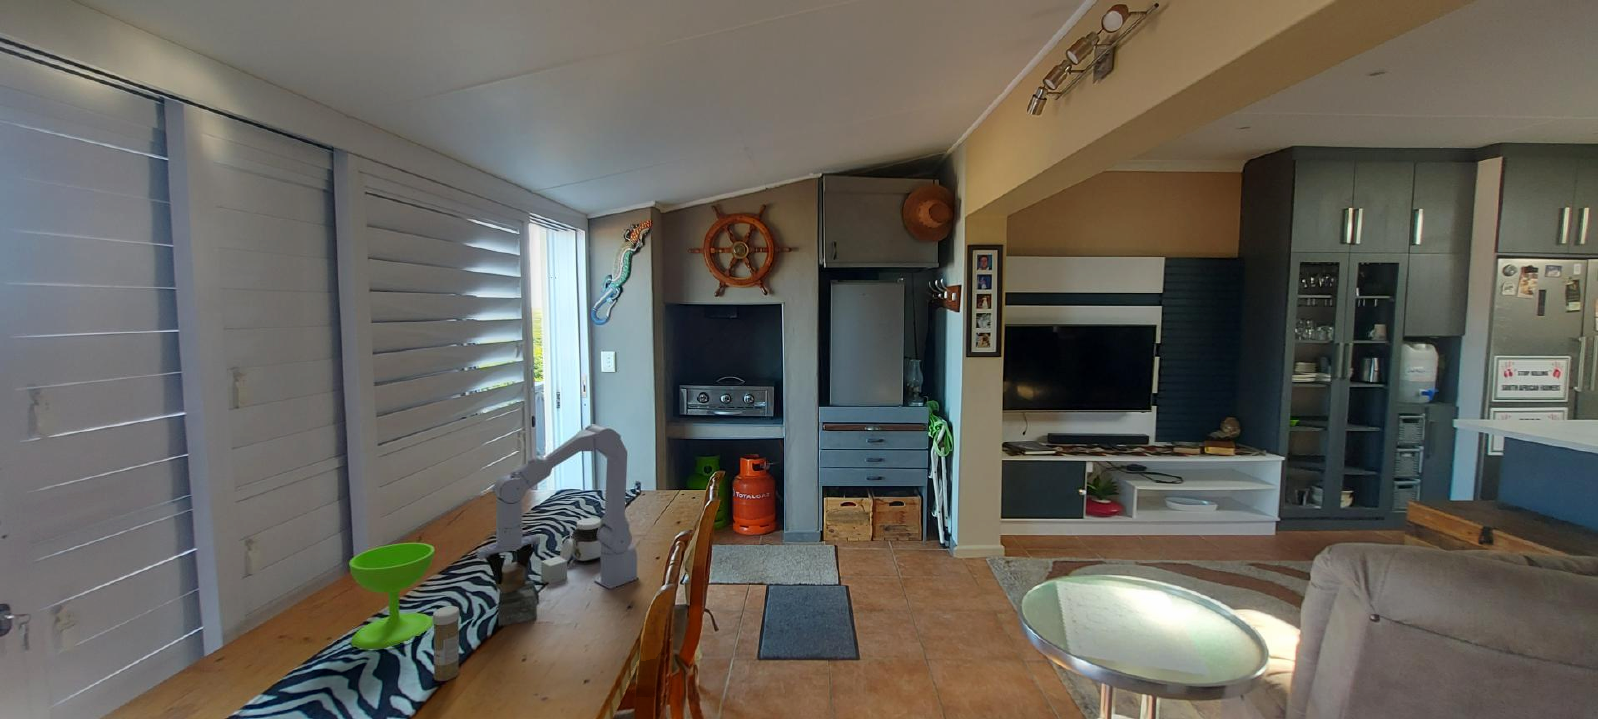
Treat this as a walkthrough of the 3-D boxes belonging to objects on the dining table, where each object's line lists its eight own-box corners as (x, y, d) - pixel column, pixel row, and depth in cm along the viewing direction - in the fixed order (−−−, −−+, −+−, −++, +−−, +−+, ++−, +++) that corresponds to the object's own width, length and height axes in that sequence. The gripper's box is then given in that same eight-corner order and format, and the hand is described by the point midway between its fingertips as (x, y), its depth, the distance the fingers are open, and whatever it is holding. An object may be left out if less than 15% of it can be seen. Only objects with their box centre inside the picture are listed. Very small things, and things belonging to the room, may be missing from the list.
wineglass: (451, 622, 141) (450, 548, 140) (385, 657, 126) (383, 574, 125) (402, 611, 146) (401, 539, 145) (332, 643, 131) (331, 563, 130)
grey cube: (557, 573, 170) (557, 556, 170) (567, 578, 167) (567, 560, 167) (541, 578, 166) (541, 561, 166) (550, 583, 163) (550, 566, 163)
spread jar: (609, 558, 181) (610, 521, 181) (578, 571, 172) (578, 531, 171) (584, 550, 188) (584, 514, 187) (552, 561, 178) (552, 523, 178)
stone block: (538, 596, 156) (538, 576, 156) (539, 621, 143) (539, 599, 143) (500, 601, 152) (500, 581, 152) (497, 627, 139) (497, 605, 139)
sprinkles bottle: (430, 676, 119) (429, 610, 119) (454, 666, 123) (454, 603, 122) (438, 685, 116) (437, 618, 116) (463, 675, 120) (463, 610, 119)
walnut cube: (515, 580, 150) (515, 561, 150) (525, 586, 147) (525, 567, 147) (495, 587, 146) (495, 567, 146) (505, 593, 143) (505, 573, 143)
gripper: (486, 536, 138) (486, 593, 139) (546, 521, 149) (546, 574, 150) (473, 529, 142) (473, 585, 143) (532, 515, 154) (532, 567, 154)
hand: (509, 579), depth 147 cm, fingers closed on walnut cube, 5 cm apart
